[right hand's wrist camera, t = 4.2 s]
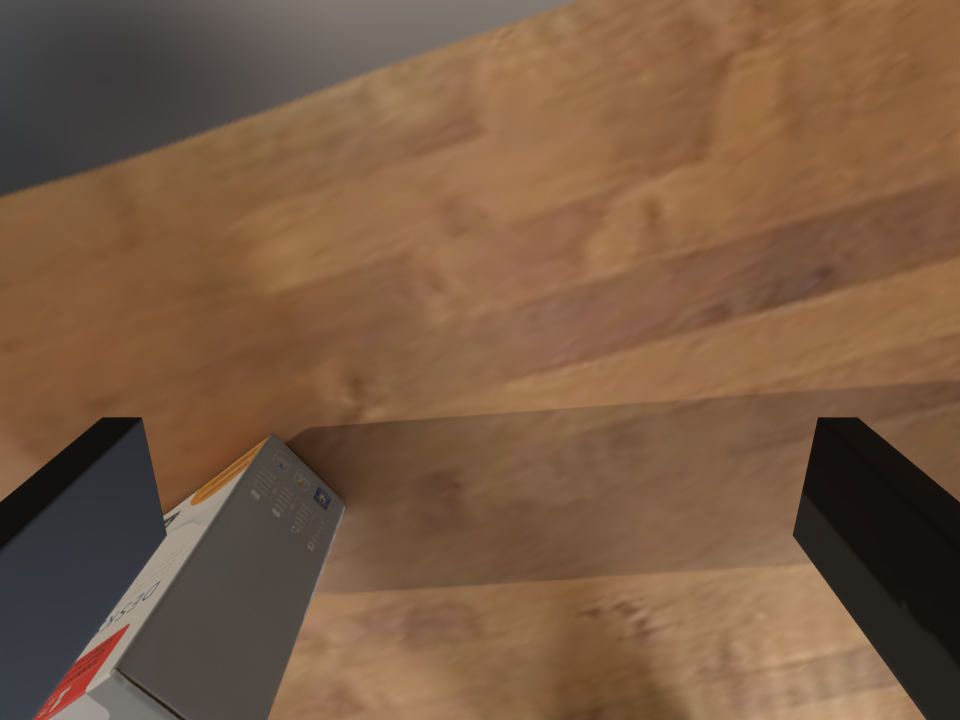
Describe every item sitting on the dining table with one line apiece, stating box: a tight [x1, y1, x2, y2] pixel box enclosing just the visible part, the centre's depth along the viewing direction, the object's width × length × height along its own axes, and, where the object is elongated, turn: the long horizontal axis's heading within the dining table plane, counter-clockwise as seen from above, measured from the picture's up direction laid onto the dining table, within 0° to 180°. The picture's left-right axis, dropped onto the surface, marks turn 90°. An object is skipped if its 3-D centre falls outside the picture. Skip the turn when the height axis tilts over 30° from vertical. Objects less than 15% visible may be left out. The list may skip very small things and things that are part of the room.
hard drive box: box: [34, 435, 345, 720], centre depth 37 cm, size 16×8×20 cm, turn 128°
